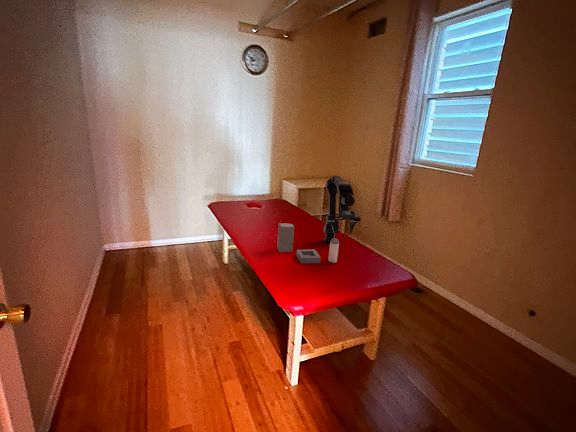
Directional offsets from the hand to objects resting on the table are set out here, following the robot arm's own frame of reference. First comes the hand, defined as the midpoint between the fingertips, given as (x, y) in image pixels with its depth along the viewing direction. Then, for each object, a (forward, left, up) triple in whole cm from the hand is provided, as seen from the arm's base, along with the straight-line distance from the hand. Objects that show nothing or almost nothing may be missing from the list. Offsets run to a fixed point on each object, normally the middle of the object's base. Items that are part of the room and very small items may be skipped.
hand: (342, 233), depth 177 cm
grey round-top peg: (+3, -6, -15) cm, 16 cm away
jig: (0, -19, -15) cm, 24 cm away
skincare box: (-14, -30, -15) cm, 36 cm away
